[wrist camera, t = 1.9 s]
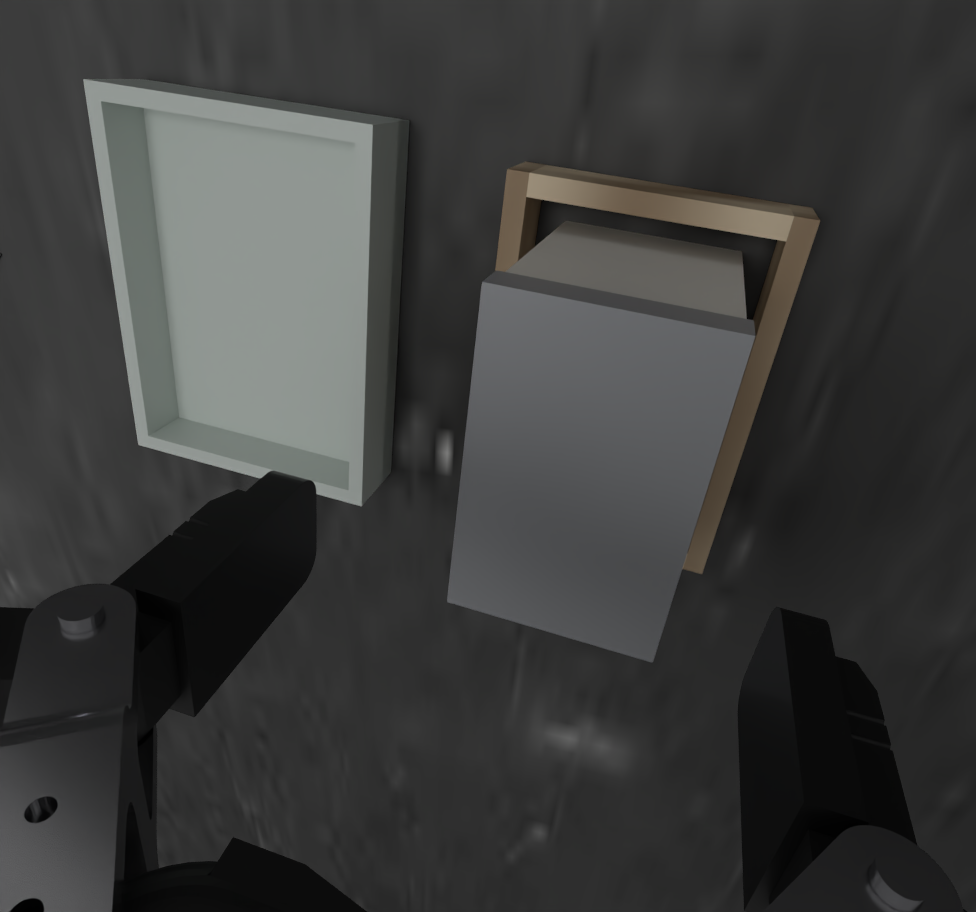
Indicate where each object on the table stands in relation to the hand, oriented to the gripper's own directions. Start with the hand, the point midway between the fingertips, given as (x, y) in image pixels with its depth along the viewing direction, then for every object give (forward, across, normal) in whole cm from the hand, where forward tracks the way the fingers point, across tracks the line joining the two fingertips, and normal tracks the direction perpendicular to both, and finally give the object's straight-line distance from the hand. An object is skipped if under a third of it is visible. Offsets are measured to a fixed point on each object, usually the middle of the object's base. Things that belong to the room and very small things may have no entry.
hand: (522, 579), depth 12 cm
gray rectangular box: (+12, 0, 0) cm, 12 cm away
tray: (+12, +12, 0) cm, 16 cm away
